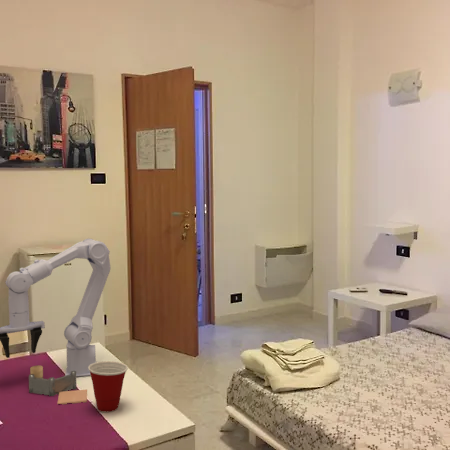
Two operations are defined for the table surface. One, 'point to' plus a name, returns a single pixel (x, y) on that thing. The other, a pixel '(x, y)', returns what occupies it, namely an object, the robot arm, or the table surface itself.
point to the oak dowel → (37, 371)
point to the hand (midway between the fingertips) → (20, 354)
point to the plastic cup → (107, 383)
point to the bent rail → (52, 384)
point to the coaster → (72, 396)
